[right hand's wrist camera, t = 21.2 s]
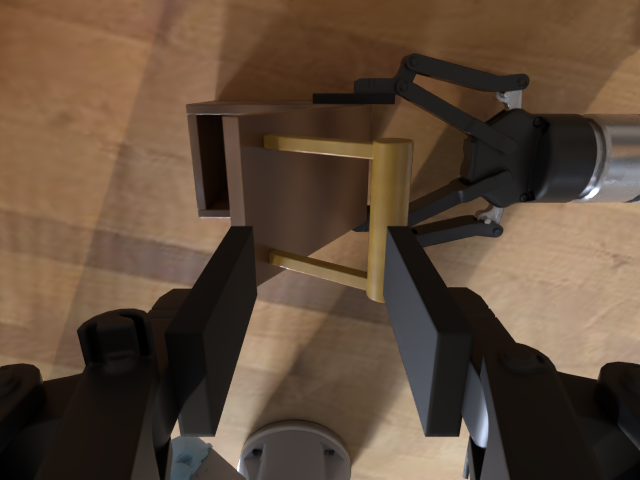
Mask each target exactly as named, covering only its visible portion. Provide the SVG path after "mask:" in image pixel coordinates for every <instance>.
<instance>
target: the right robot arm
mask: <svg viewBox="0 0 640 480" xmlns="http://www.w3.org/2000/svg"><path fill="white" fill-rule="evenodd" d="M256 297H257V283H256V267H255V251H254V235H253V226H231V227H230V229H229V231H228V232H227V234H226V235H225V237H224V238H223V240H222V242H221V243H220V245H219V246H218V248H217V250H216V251H215V253H214V254H213V256H212V258H211V259H210V261H209V262H208V264H207V265H206V267H205V269H204V270H203V272H202V273H201V275H200V277H199V278H198V280H197V281H196V283H195V285H194V286H193V288H192V289H172V290H171V291H169V292H168V293H166V294H164V295H163V296H161V297H160V298H159V299H158V300H157V302H156V303H155V304H154V306H153V307H152V310H150V311H149V312H148V314H147V313H146V312H145V311H143V310H138V309H118V310H113V311H108V312H105V313H102V314H100V315H97V316H94V317H93V318H91V319H89V320H88V321H86V322H84V323H83V324H82V325H81V326H80V327H79V329H78V330H77V333H78V337H79V341H80V345H81V349H82V353H83V357H84V361H85V365H86V367H85V369H84V371H83V373H81V374H77V375H73V376H68V377H63V378H58V379H53V380H48V381H44V382H43V380H42V376H41V373H40V370H39V369H38V368H37V367H35V366H34V365H30V364H23V363H22V364H13V365H5V366H1V367H0V480H170V475H171V466H172V457H173V448H172V442H171V436H170V435H171V433H172V430H173V428H174V426H175V423H176V421H177V419H178V422H179V428H180V434H181V437H215V434H216V431H217V427H218V424H219V421H220V417H221V414H222V411H223V407H224V404H225V401H226V397H227V394H228V391H229V387H230V384H231V381H232V377H233V374H234V371H235V367H236V364H237V361H238V357H239V354H240V351H241V347H242V344H243V341H244V337H245V334H246V331H247V327H248V324H249V321H250V317H251V314H252V311H253V307H254V304H255V301H256ZM383 297H384V301H385V304H386V307H387V311H388V314H389V317H390V321H391V324H392V327H393V331H394V334H395V337H396V341H397V344H398V347H399V351H400V354H401V357H402V361H403V364H404V367H405V371H406V374H407V377H408V381H409V384H410V387H411V391H412V394H413V397H414V401H415V404H416V407H417V411H418V414H419V417H420V421H421V424H422V427H423V431H424V434H425V437H459V434H460V428H461V422H462V417H463V419H464V421H465V424H466V426H467V428H468V431H469V433H470V436H469V442H468V448H467V453H466V459H465V465H464V471H463V478H466V479H468V476H469V474H470V480H640V365H639V364H635V363H626V362H612V363H607V364H605V365H604V366H603V367H602V368H601V370H600V373H599V376H598V380H596V379H591V378H586V377H581V376H576V375H571V374H566V373H562V372H558V371H557V370H556V368H555V366H554V364H553V363H552V362H551V360H550V359H549V358H548V357H547V356H545V355H544V354H543V353H541V352H540V351H538V350H536V349H534V348H532V347H529V346H527V345H524V344H520V343H516V342H515V341H514V339H513V338H512V337H511V335H510V334H509V333H508V332H507V330H506V329H505V328H504V326H503V325H502V324H501V322H500V321H499V320H498V318H497V317H495V314H494V313H493V312H492V311H491V309H489V308H488V305H487V304H486V303H485V301H484V300H483V299H482V297H481V296H479V295H478V294H476V293H475V292H473V291H472V290H470V289H468V288H467V287H447V286H446V285H445V283H444V281H443V280H442V278H441V277H440V275H439V273H438V272H437V270H436V269H435V267H434V265H433V264H432V262H431V261H430V259H429V258H428V256H427V254H426V253H425V251H424V250H423V248H422V246H421V245H420V243H419V242H418V240H417V238H416V237H415V235H414V234H413V232H412V231H411V229H410V227H409V226H387V235H386V251H385V267H384V283H383Z"/></svg>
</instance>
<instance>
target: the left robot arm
mask: <svg viewBox="0 0 640 480" xmlns="http://www.w3.org/2000/svg"><path fill="white" fill-rule="evenodd" d="M416 74H419V75H422V76H426V77H430V78H433V79H437V80H441V81H445V82H448V83H452V84H456V85H460V86H463V87H467V88H471V89H474V90H478V91H485V92H492V97H493V99H494V100H495V101H498V102H501V103H503V105H504V110H502V111H501V112H499V113H498V114H496V115H495V116H493V117H492V118H490V119H489V120H487V121H486V122H485V123H483V122H482V121H480V120H478V119H476V118H474V117H472V116H470V115H468V114H466V113H465V112H463V111H461V110H460V109H458V108H456V107H454V106H453V105H451V104H449V103H448V102H446V101H444V100H442V99H441V98H439V97H437V96H435V95H434V94H432V93H430V92H429V91H427V90H425V89H423V88H422V87H420V86H418V85H416V84H415V83H413V80H414V78H415V75H416ZM528 84H529V77H528V76H527V75H526V74H510V75H501V76H497V75H493V74H490V73H486V72H482V71H479V70H475V69H471V68H468V67H464V66H460V65H457V64H453V63H449V62H446V61H442V60H438V59H435V58H431V57H427V56H424V55H420V54H415V53H413V54H410V55H407V56H405V57H404V58H403V59H402V61H401V65H400V68H399V70H398V72H397V74H396V75H395V76H394V77H393V78H390V79H373V78H362V79H358V80H356V81H354V93H313V104H395V95H398V96H400V97H402V98H404V99H405V100H407V101H409V102H411V103H413V104H414V105H416V106H418V107H420V108H421V109H423V110H425V111H427V112H428V113H430V114H432V115H434V116H435V117H437V118H439V119H441V120H442V121H444V122H446V123H448V124H449V125H451V126H453V127H455V128H456V129H457V130H459V131H461V132H463V133H464V134H466V135H468V137H467V139H464V145H463V151H464V159H463V162H462V164H461V169H460V175H462V176H461V177H459V178H457V179H455V180H453V181H451V182H450V183H449V184H448V185H446V186H444V187H442V188H440V189H438V190H436V191H434V192H432V193H429V194H427V195H425V196H423V197H421V198H419V199H417V200H415V201H413V202H411V203H409V209H408V222H407V226H409V227H410V229H411V231H412V232H413V234H414V235H415V237H416V238H417V240H418V242H419V243H420V245H421V246H422V247H426V246H431V245H435V244H440V243H444V242H449V241H454V240H458V239H463V238H467V237H472V236H485V237H499V236H501V235H502V233H503V228H502V226H500V225H499V224H500V220H501V217H502V213H503V210H504V208H505V207H508V206H510V205H512V204H515V203H520V202H524V203H566V202H570V201H572V202H575V203H609V202H631V203H632V202H640V114H584V115H582V116H581V115H578V114H530V113H528V112H526V111H525V110H523V109H521V103H522V90H523V89H525V88H526V87H527V86H528ZM480 196H481V197H483V198H484V199H485V200H486V201H488V202H489V203H490V204H489V206H488V207H487V208H486V209H483V210H479V211H477V212H476V213H475V215H465V216H460V217H455V218H451V219H446V220H442V221H437V222H433V223H428V224H424V225H419V226H415V227H411V226H413V225H415V224H417V223H419V222H421V221H424V220H426V219H428V218H430V217H432V216H434V215H436V214H439V213H441V212H443V211H445V210H447V209H449V208H451V207H454V206H456V205H458V204H460V203H466V202H469V201H472V200H474V199H476V198H478V197H480ZM369 225H370V205H367V219H366V221H365V222H364V223H362V224H360V225H359V226H357V227H355V228H354V229H352V230H353V231H356V232H369ZM171 442H172V448H173V457H172V466H171V475H170V480H350V477H351V464H350V455H349V452H348V449H347V447H346V445H345V444H344V442H343V441H342V440H341V439H340V438H339V436H337V435H336V434H335V433H334V432H332V431H331V430H329V429H328V428H326V427H324V426H321V425H319V424H316V423H312V422H308V421H301V420H286V421H280V422H275V423H272V424H269V425H267V426H265V427H262V428H261V429H259V430H257V431H256V432H255V433H254V434H252V435H251V436H250V437H249V439H248V440H247V441H246V443H245V444H244V446H243V448H242V451H241V456H240V460H239V465H238V471H237V470H236V469H235V468H234V467H233V466H231V465H230V464H229V463H228V462H227V461H226V460H225V459H224V458H222V457H221V456H220V455H219V454H218V453H217V452H216V451H215V450H213V449H212V447H213V446H212V445H211V444H210V443H205V442H204V441H203V440H201V439H200V438H199V437H181V436H178V437H176V438H175V439H173V440H171Z"/></svg>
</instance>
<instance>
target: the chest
mask: <svg viewBox="0 0 640 480" xmlns="http://www.w3.org/2000/svg"><path fill="white" fill-rule="evenodd" d="M348 105H364V104H313V100H287V101H208V102H201V103H194V104H187V105H186V110H187V114H188V115H187V118H188V127H189V136H190V145H191V154H192V162H193V171H194V180H195V189H196V198H197V207H198V215H199V218H231V216H230V204H229V192H228V180H227V168H226V156H225V144H224V132H223V120H222V116H227V115H239V114H251V113H264V112H276V111H288V110H300V109H312V108H324V107H336V106H348Z"/></svg>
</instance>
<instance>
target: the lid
mask: <svg viewBox="0 0 640 480" xmlns="http://www.w3.org/2000/svg"><path fill="white" fill-rule="evenodd" d="M222 120H223V132H224V144H225V156H226V168H227V180H228V192H229V204H230V216H231V226H253V235H254V251H255V267H256V283H257V286H259V285H261V284H262V283H264V282H266V281H267V280H269V279H271V278H272V277H274V276H276V275H277V274H279V273H281V272H282V271H284V270H286V269H290V270H294V271H298V272H301V273H305V274H308V275H312V276H316V277H319V278H323V279H326V280H330V281H334V282H337V283H341V284H344V285H348V286H352V287H355V288H359V289H362V290H366V291H367V296H368V297H369V298H370V299H372V300H374V301H376V302H381V303H385V301H384V297H383V283H384V267H385V251H386V235H387V226H407V222H408V209H409V197H410V184H411V172H412V159H413V147H414V142H413V141H412V140H409V139H402V138H380V139H376V140H374V141H370V123H371V105H348V106H336V107H324V108H312V109H300V110H288V111H276V112H264V113H251V114H239V115H227V116H222ZM369 159H372V181H371V203H370V225H369V248H368V270H367V272H365V271H361V270H357V269H353V268H349V267H345V266H341V265H337V264H333V263H329V262H325V261H321V260H317V259H313V258H309V257H307V256H309V255H311V254H312V253H314V252H316V251H317V250H319V249H320V248H322V247H324V246H325V245H327V244H329V243H330V242H332V241H334V240H335V239H337V238H339V237H340V236H342V235H344V234H345V233H347V232H349V231H350V230H352V229H354V228H355V227H357V226H359V225H360V224H362V223H364V222H365V221H366V219H367V195H368V171H369Z"/></svg>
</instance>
